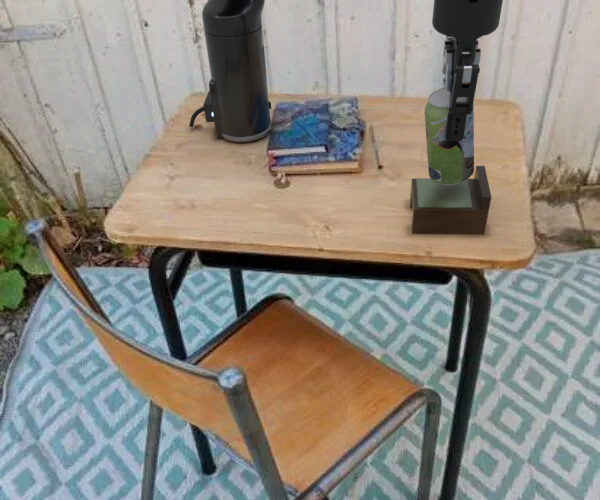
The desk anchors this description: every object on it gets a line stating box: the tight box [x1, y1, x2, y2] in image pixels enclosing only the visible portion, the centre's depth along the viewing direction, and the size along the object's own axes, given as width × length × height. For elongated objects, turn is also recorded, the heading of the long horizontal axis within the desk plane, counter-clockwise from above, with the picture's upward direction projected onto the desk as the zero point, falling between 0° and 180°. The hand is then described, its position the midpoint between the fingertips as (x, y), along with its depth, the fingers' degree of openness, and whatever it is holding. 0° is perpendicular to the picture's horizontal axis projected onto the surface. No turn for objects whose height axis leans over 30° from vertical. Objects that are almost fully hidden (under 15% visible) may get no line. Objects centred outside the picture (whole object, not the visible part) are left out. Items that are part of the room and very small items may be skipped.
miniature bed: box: [409, 165, 492, 235], centre depth 91 cm, size 10×8×6 cm
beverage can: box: [424, 87, 475, 186], centre depth 84 cm, size 6×7×12 cm
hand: (451, 126), depth 83 cm, fingers closed on beverage can, 6 cm apart
